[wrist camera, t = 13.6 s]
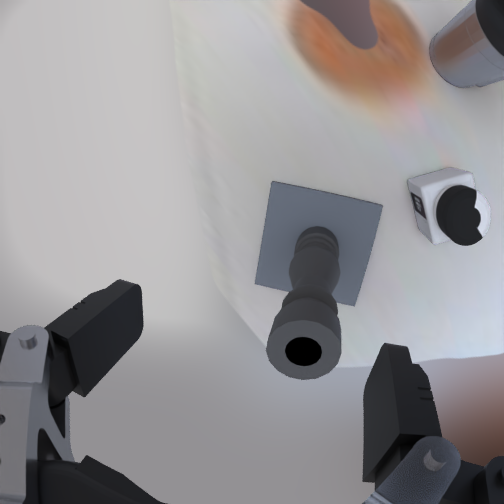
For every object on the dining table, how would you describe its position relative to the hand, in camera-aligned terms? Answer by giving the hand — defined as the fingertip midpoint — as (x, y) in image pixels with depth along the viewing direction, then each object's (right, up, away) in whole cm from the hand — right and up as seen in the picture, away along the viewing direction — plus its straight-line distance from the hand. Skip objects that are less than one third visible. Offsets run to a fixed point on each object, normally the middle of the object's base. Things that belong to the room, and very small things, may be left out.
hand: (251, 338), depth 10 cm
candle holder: (+9, +3, +36) cm, 38 cm away
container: (+27, +10, +31) cm, 42 cm away
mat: (+10, +4, +37) cm, 38 cm away
